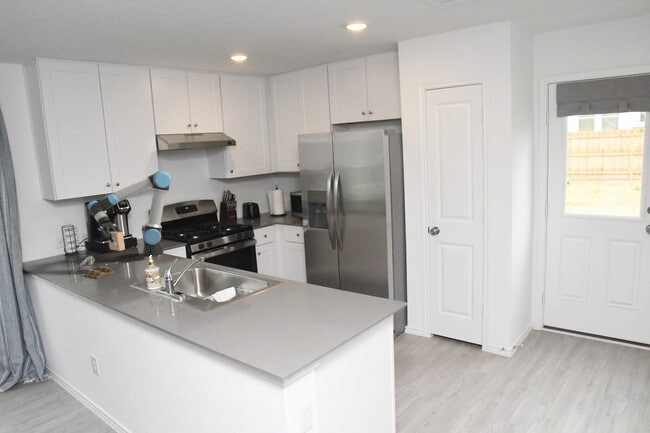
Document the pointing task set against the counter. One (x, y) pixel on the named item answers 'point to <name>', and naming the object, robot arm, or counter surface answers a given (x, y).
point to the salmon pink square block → (119, 239)
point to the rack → (99, 272)
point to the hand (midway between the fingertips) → (119, 244)
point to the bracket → (85, 262)
